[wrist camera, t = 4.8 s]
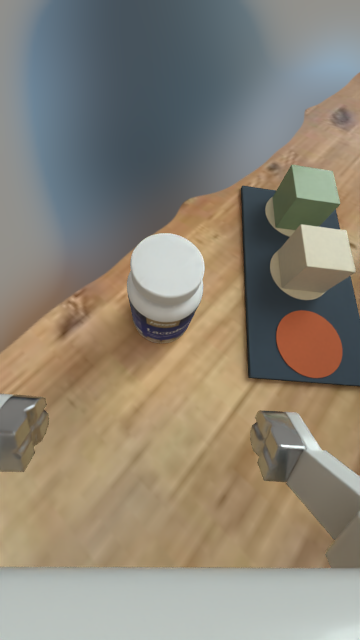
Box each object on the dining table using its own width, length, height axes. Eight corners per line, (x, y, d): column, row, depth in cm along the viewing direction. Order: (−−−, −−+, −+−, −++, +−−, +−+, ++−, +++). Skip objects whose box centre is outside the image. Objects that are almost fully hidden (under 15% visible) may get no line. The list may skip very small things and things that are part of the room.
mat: (241, 188, 31) (242, 184, 30) (330, 202, 32) (334, 198, 31) (248, 377, 22) (250, 377, 22) (370, 387, 23) (376, 386, 23)
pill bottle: (148, 354, 22) (145, 320, 13) (124, 305, 23) (105, 242, 14) (199, 329, 24) (230, 281, 14) (173, 284, 25) (185, 214, 16)
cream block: (277, 251, 27) (300, 223, 23) (317, 256, 28) (346, 230, 23) (281, 288, 26) (306, 266, 21) (323, 293, 26) (356, 272, 22)
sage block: (272, 197, 30) (291, 164, 26) (308, 202, 31) (332, 170, 26) (275, 227, 28) (296, 197, 24) (313, 232, 29) (340, 204, 25)
